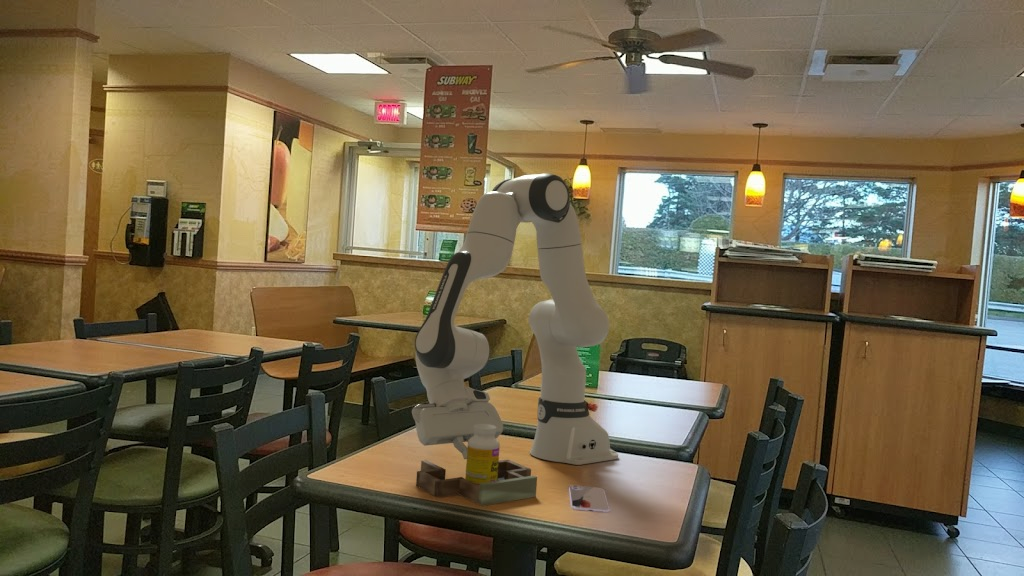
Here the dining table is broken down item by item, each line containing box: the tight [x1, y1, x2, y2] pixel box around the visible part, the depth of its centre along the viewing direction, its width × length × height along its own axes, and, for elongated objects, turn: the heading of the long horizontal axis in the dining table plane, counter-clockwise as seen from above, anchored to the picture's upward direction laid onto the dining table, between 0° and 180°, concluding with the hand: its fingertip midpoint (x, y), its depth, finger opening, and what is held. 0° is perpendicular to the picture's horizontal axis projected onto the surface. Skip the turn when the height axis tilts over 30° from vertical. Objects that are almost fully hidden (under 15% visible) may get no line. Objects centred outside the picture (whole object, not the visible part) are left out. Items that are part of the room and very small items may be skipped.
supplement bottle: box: [465, 424, 501, 485], centre depth 150 cm, size 7×7×13 cm
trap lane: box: [415, 459, 538, 507], centre depth 151 cm, size 23×23×4 cm
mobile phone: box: [568, 484, 610, 513], centre depth 147 cm, size 8×1×15 cm
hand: (471, 457), depth 153 cm, fingers closed, pressing on supplement bottle
